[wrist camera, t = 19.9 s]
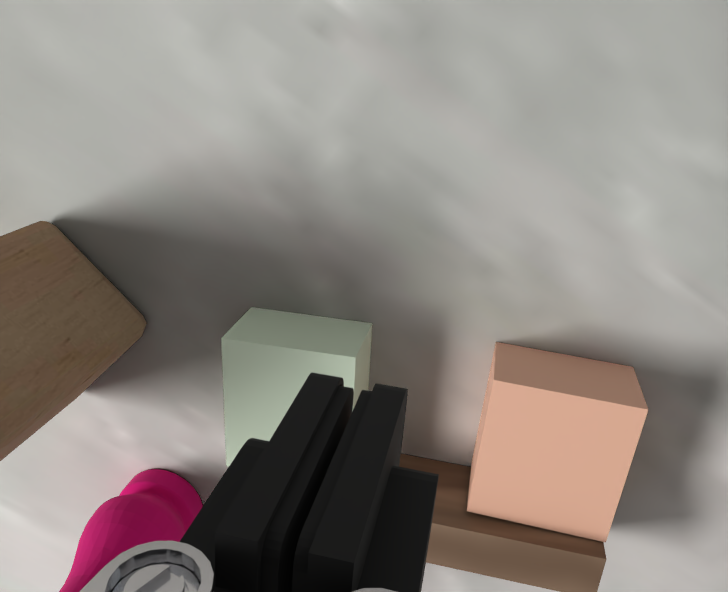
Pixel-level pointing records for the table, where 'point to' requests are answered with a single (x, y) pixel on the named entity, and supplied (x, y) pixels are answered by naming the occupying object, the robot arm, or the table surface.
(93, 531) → the pepper mill
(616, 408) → the terracotta block
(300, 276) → the table surface
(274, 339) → the sage block
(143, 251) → the table surface
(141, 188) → the table surface
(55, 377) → the wooden block
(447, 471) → the walnut board
